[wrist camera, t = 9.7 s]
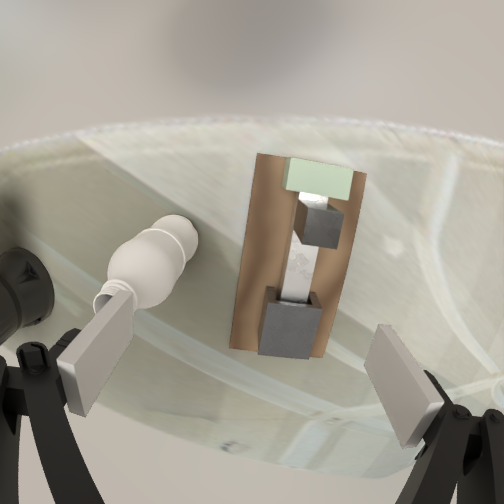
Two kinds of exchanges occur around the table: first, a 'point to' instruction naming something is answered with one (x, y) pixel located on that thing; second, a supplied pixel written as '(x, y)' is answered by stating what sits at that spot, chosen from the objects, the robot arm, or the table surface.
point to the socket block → (317, 178)
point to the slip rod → (307, 244)
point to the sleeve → (288, 326)
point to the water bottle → (150, 263)
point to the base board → (274, 247)
